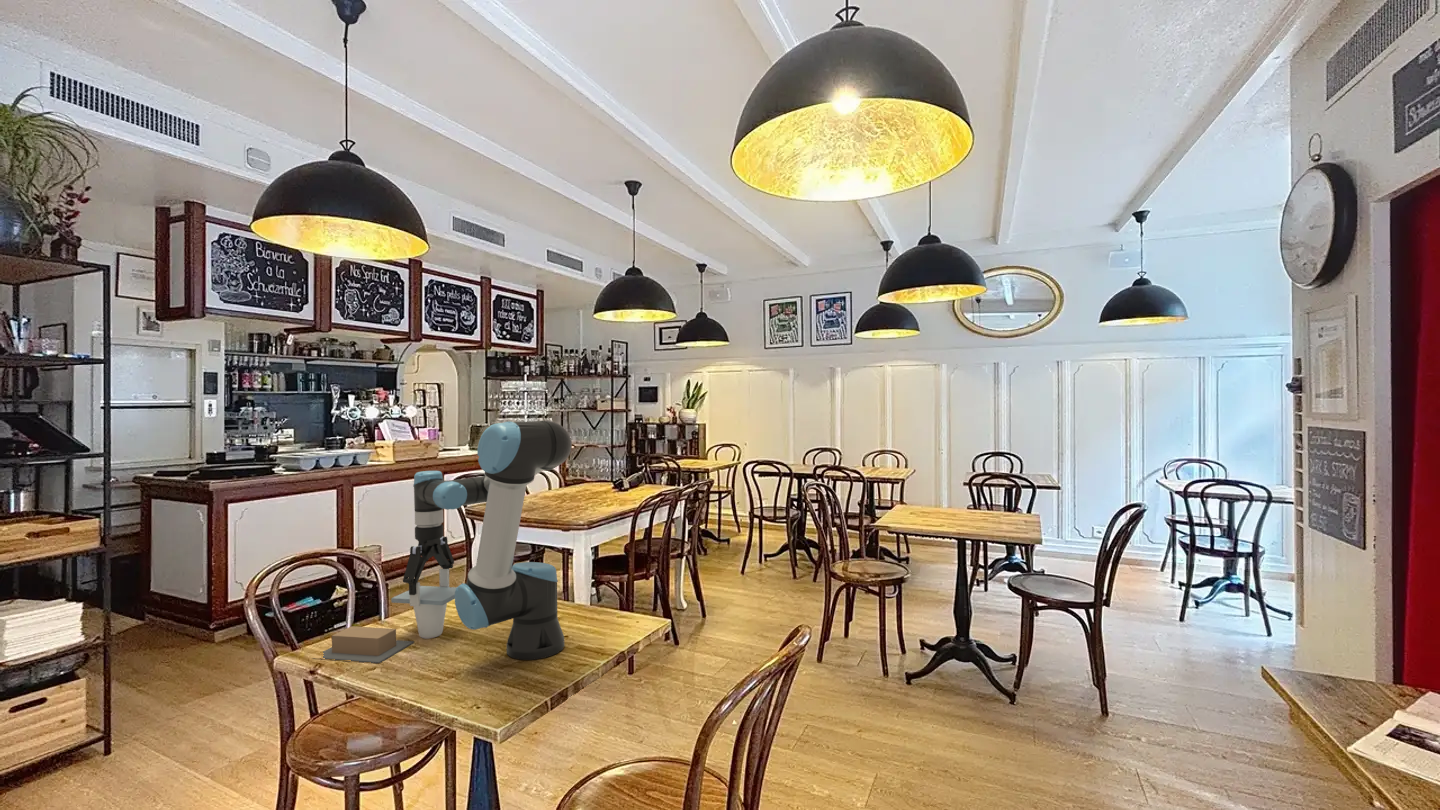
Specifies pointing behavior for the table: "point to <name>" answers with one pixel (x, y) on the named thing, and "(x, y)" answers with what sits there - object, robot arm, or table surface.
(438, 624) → the cup
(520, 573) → the robot arm
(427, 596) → the sheet
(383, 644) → the brown block on plate
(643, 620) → the table surface
